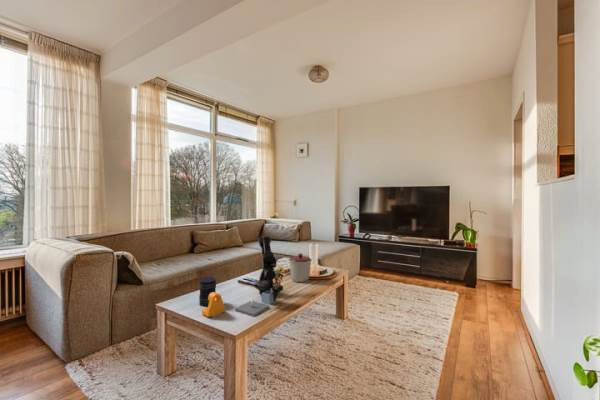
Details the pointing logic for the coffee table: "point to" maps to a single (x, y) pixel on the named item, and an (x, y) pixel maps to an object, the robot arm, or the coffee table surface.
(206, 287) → the storage jar
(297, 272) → the canister
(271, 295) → the blue-grey hollow cube
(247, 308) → the pin plate
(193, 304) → the coffee table surface
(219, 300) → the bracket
